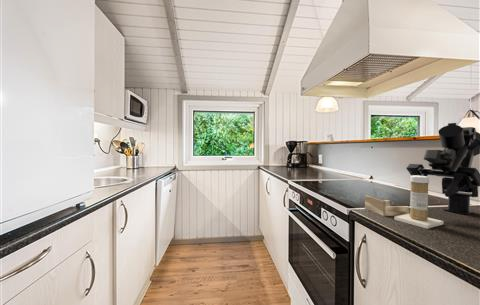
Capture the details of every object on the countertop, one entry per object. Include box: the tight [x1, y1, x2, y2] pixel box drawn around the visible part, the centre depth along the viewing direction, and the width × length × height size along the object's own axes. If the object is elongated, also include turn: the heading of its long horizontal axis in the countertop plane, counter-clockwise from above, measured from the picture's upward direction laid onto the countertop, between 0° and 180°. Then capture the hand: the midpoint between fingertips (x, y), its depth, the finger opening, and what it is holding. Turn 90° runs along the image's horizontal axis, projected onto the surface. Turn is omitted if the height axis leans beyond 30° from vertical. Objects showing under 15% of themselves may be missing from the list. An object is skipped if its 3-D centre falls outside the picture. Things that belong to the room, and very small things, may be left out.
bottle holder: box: [364, 194, 410, 217], centre depth 81 cm, size 10×10×5 cm
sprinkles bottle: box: [409, 175, 430, 220], centre depth 70 cm, size 5×5×13 cm
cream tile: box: [393, 213, 444, 230], centre depth 70 cm, size 9×9×1 cm
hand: (428, 192), depth 72 cm, fingers open, 9 cm apart
